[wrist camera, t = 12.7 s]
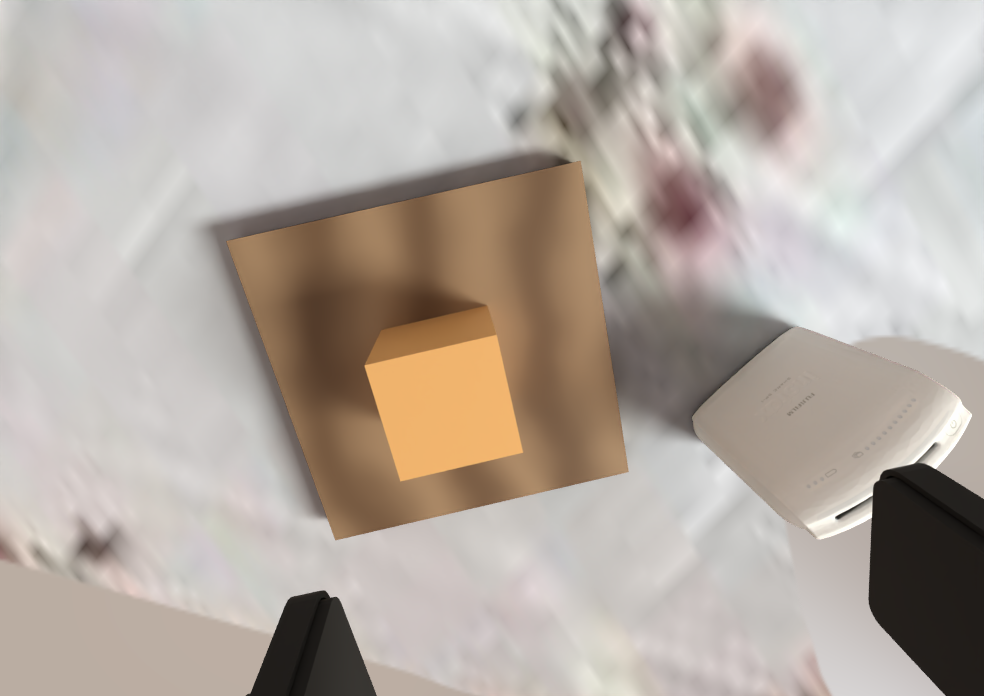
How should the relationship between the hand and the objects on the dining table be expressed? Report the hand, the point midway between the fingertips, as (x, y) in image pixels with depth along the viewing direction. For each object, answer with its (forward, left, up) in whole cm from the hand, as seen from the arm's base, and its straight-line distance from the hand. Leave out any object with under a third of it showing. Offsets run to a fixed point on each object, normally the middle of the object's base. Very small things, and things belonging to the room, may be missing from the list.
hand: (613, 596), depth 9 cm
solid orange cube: (+4, +3, -23) cm, 24 cm away
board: (+4, +3, -25) cm, 26 cm away
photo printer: (-16, +10, -25) cm, 32 cm away
